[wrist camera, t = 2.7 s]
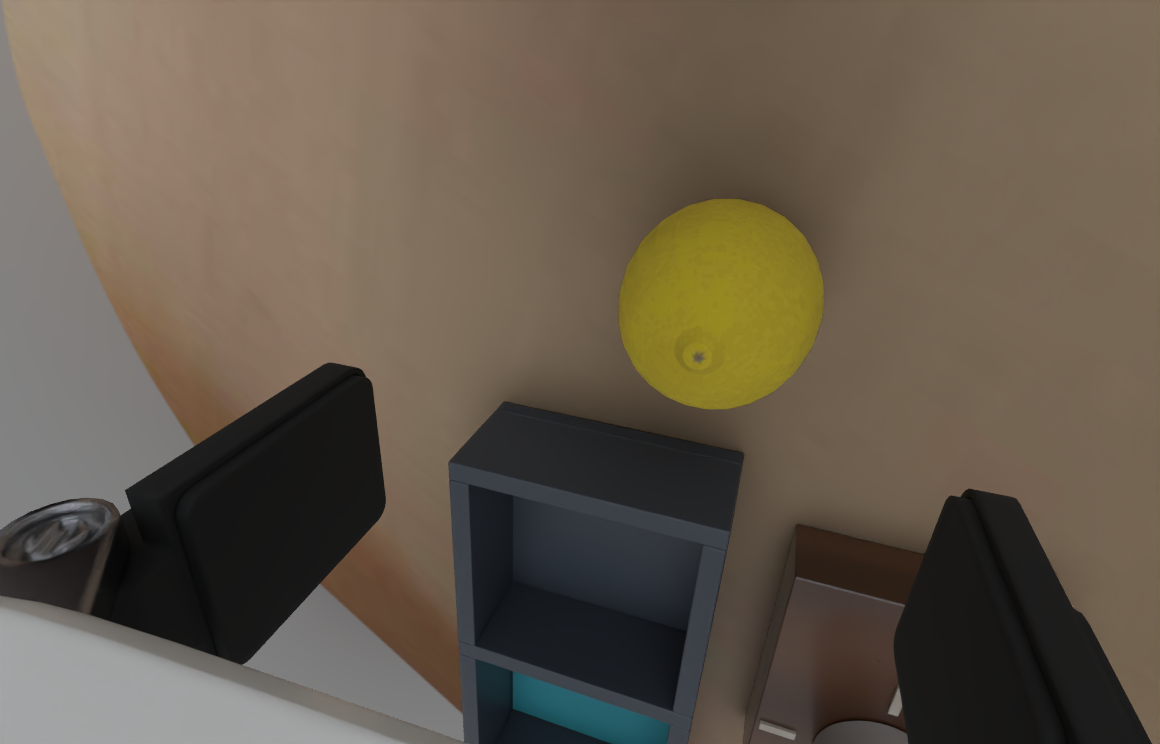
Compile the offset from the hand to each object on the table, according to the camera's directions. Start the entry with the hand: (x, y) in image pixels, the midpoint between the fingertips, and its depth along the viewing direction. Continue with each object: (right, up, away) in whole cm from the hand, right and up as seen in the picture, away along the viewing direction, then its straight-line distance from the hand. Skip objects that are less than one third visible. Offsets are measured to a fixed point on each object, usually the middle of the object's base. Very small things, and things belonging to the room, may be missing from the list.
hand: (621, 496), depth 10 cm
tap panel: (+12, -10, +16) cm, 22 cm away
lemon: (+5, +6, +11) cm, 13 cm away
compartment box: (0, -9, +20) cm, 21 cm away
